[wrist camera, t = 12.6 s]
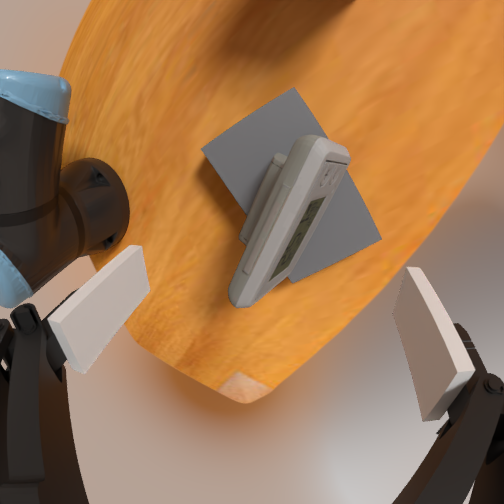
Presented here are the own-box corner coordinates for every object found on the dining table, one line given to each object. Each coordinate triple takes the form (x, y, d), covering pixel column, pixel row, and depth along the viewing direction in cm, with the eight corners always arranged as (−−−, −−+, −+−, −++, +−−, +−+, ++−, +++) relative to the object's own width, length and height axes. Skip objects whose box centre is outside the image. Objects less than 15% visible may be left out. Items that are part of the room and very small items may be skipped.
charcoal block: (294, 264, 39) (292, 283, 35) (214, 145, 34) (200, 148, 30) (373, 224, 35) (382, 239, 30) (295, 92, 30) (294, 87, 25)
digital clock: (282, 276, 35) (271, 335, 25) (220, 233, 34) (185, 279, 24) (373, 170, 27) (404, 195, 18) (304, 116, 26) (302, 112, 17)
